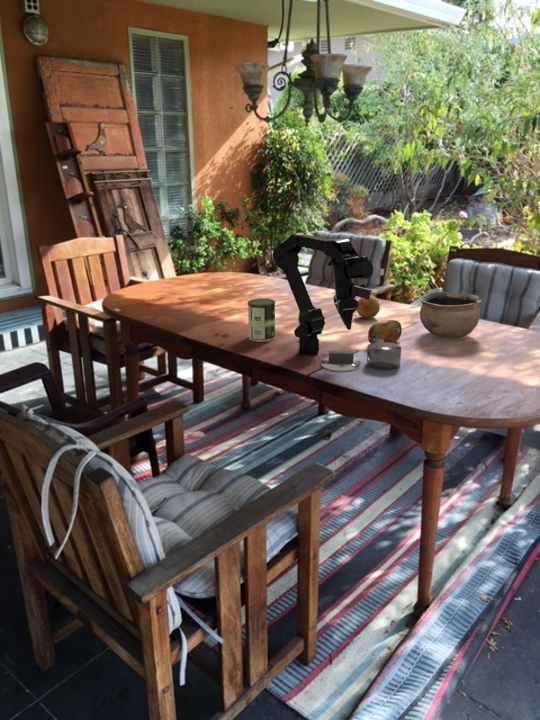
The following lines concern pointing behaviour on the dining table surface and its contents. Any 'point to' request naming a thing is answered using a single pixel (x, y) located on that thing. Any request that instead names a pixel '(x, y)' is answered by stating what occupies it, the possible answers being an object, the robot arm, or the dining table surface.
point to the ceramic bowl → (450, 314)
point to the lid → (340, 361)
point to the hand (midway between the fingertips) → (347, 327)
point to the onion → (368, 307)
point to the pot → (383, 355)
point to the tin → (385, 331)
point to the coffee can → (261, 320)
